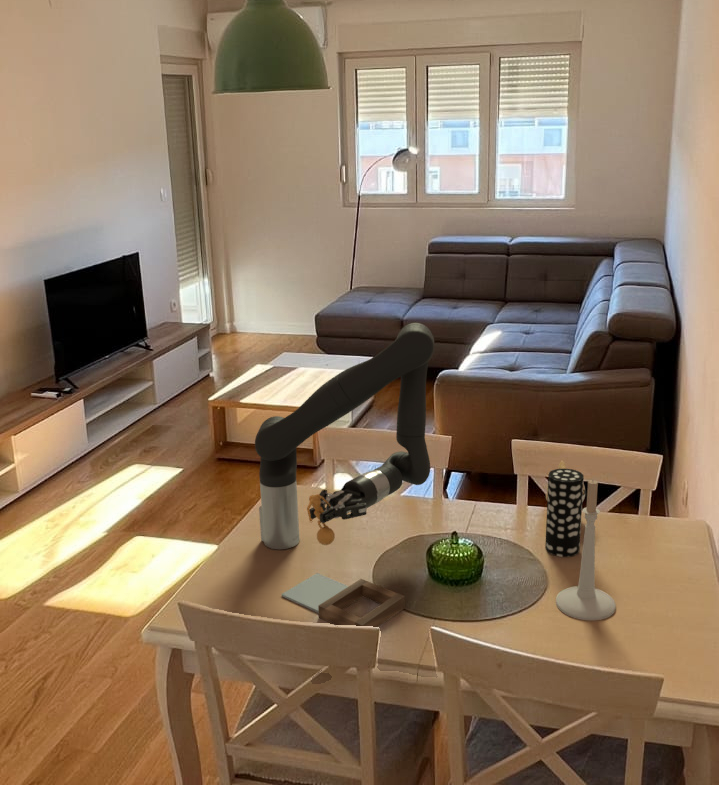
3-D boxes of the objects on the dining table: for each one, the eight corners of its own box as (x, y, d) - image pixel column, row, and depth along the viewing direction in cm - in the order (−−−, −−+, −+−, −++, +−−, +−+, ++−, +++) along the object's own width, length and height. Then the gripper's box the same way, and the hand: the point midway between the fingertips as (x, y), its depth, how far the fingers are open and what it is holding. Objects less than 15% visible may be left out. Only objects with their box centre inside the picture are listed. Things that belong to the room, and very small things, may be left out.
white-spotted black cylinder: (542, 553, 213) (545, 479, 206) (548, 539, 220) (551, 466, 214) (576, 559, 210) (581, 484, 203) (581, 544, 217) (586, 470, 211)
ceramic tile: (281, 596, 197) (281, 594, 197) (317, 575, 206) (317, 572, 205) (320, 613, 189) (320, 611, 189) (355, 591, 198) (355, 588, 198)
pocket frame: (318, 617, 188) (318, 605, 187) (361, 590, 199) (361, 578, 198) (362, 637, 180) (362, 625, 179) (404, 608, 191) (404, 596, 190)
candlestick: (622, 598, 192) (631, 474, 183) (606, 626, 182) (615, 497, 173) (566, 584, 199) (572, 464, 190) (547, 610, 188) (553, 485, 179)
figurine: (323, 554, 187) (323, 506, 183) (300, 547, 190) (299, 499, 186) (342, 537, 194) (342, 490, 190) (319, 530, 197) (319, 484, 193)
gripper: (343, 468, 204) (292, 493, 192) (389, 482, 196) (338, 509, 183) (344, 497, 207) (294, 523, 194) (389, 512, 198) (340, 541, 186)
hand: (316, 516), depth 189 cm, fingers closed on figurine, 2 cm apart
